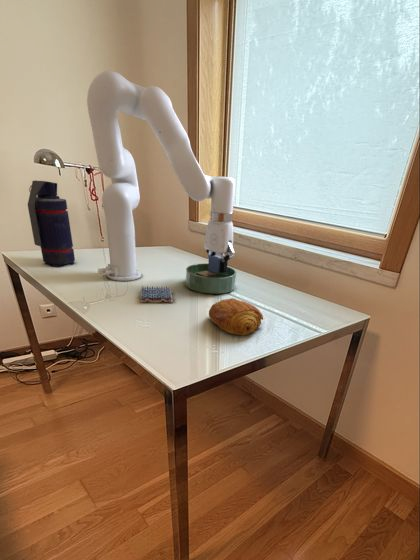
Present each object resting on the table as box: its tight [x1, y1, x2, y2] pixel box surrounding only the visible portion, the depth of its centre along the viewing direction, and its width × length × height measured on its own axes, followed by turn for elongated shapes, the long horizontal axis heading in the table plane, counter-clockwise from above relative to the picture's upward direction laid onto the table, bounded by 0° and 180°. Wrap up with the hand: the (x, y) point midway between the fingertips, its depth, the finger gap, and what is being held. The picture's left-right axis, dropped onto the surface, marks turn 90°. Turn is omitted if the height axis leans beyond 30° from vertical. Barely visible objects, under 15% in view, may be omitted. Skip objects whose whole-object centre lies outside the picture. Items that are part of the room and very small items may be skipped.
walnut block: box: [196, 271, 216, 278], centre depth 114 cm, size 5×5×5 cm
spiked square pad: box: [139, 285, 174, 303], centre depth 105 cm, size 10×11×2 cm
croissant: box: [208, 297, 264, 336], centre depth 89 cm, size 14×16×8 cm
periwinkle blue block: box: [207, 254, 229, 273], centre depth 117 cm, size 5×5×5 cm
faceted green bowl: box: [185, 262, 238, 295], centre depth 117 cm, size 18×18×6 cm
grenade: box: [27, 180, 76, 268], centre depth 123 cm, size 14×12×30 cm
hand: (217, 269), depth 118 cm, fingers closed on periwinkle blue block, 5 cm apart
